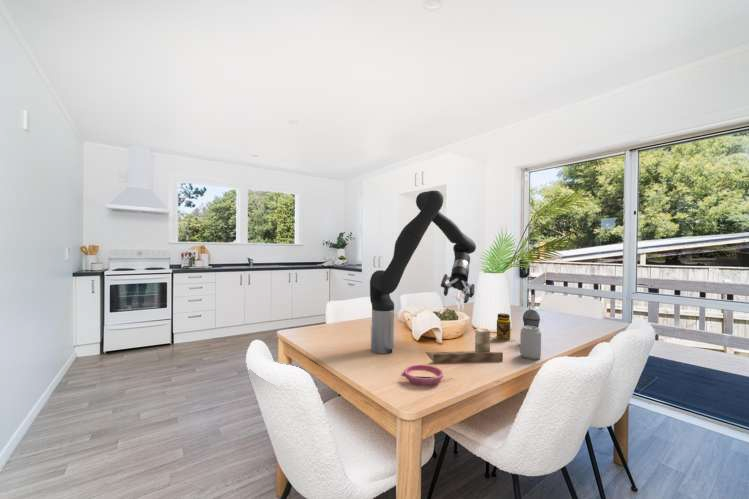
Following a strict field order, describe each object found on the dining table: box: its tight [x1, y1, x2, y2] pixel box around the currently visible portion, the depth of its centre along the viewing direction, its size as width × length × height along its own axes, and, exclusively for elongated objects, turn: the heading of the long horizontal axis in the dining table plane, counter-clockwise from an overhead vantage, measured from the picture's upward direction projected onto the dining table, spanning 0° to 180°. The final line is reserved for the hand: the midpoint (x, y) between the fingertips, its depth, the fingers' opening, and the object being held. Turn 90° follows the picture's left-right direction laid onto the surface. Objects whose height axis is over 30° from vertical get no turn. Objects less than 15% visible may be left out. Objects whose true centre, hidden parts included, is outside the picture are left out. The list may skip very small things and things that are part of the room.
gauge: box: [474, 328, 491, 352], centre depth 125 cm, size 4×7×10 cm
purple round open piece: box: [403, 364, 444, 387], centre depth 106 cm, size 12×12×3 cm
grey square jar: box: [519, 325, 542, 360], centre depth 130 cm, size 8×8×12 cm
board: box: [425, 350, 504, 364], centre depth 125 cm, size 26×12×4 cm, turn 97°
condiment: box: [490, 313, 514, 342], centre depth 156 cm, size 7×8×12 cm
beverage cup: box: [522, 299, 541, 328], centre depth 148 cm, size 7×7×20 cm
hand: (455, 298), depth 137 cm, fingers open, 8 cm apart
